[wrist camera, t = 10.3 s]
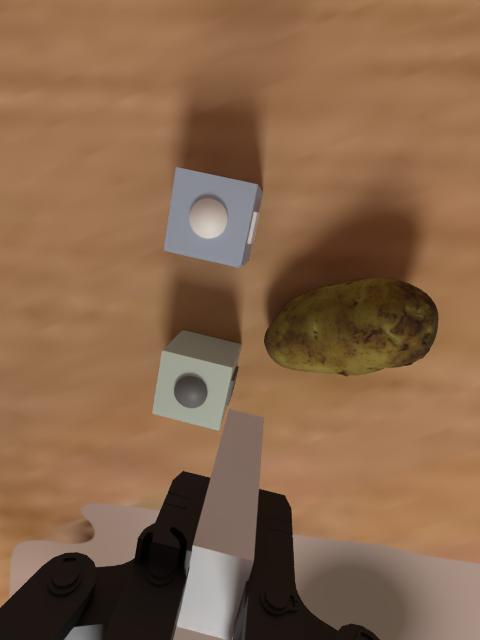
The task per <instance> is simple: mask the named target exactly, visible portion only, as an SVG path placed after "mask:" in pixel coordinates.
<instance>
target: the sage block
mask: <svg viewBox="0 0 480 640" xmlns="http://www.w3.org/2000/svg"><path fill="white" fill-rule="evenodd" d="M241 345H242V344H239V343H235V342H230V341H226V340H222V339H218V338H214V337H210V336H206V335H202V334H198V333H193V332H189V331H185V330H182V331H181V332H180V333H179V334H178V335H177V336H176V337H175V338H174V339H173V340H172V341H171V342H170V343H169V344H168V345H167V346H166V347H165V348H164V349H163V350H162V354H161V361H160V367H159V373H158V380H157V386H156V393H155V399H154V405H153V412H152V414H156V415H160V416H164V417H168V418H172V419H175V420H179V421H183V422H187V423H191V424H195V425H198V426H202V427H206V428H210V429H214V430H218V431H219V429H220V426H221V423H222V420H223V417H224V414H225V411H226V408H227V405H229V402H230V399H231V396H232V393H233V390H234V385H235V381H236V376H237V372H238V368H239V367H237V363H238V359H239V354H240V350H241Z"/></svg>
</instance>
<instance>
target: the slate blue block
mask: <svg viewBox="0 0 480 640" xmlns="http://www.w3.org/2000/svg"><path fill="white" fill-rule="evenodd" d="M262 195H263V191H262V190H261V188H260V187H259V185H258V184H254V183H249V182H244V181H240V180H235V179H230V178H225V177H221V176H216V175H211V174H207V173H202V172H197V171H192V170H188V169H183V168H178V167H176V170H175V177H174V184H173V191H172V198H171V204H170V211H169V218H168V225H167V232H166V239H165V245H164V251H168V252H172V253H176V254H181V255H185V256H190V257H194V258H198V259H203V260H207V261H211V262H216V263H220V264H225V265H229V266H233V267H238V268H241V267H242V266H243V265H244V264H245V263H246V262H248V260H249V256H250V251H251V246H252V243H253V242H254V240H255V236H256V231H257V226H258V222H259V217H260V213H259V209H260V204H261V200H262Z"/></svg>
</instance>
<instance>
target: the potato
mask: <svg viewBox="0 0 480 640" xmlns="http://www.w3.org/2000/svg"><path fill="white" fill-rule="evenodd" d="M437 328H438V311H437V308H436V305H435V303H434V302H433V300H432V299H431V298H430V297H429V296H428V295H427V294H426V293H425V292H423V291H422V290H421V289H419V288H417V287H415V286H413V285H411V284H409V283H406V282H403V281H400V280H396V279H392V278H368V279H360V280H353V281H348V282H344V283H340V284H336V285H329V286H323V287H319V288H316V289H314V290H311V291H309V292H307V293H304V294H302V295H300V296H298V297H297V298H295V299H293V300H292V301H290V302H289V303H288V304H287V305H286V306H285V307H284V308H283V309H282V310H281V311H280V313H279V314H278V315H277V317H276V318H275V319H274V320H273V322H272V323H271V324H270V326H269V327H268V329H267V331H266V334H265V339H264V343H265V347H266V350H267V352H268V354H269V356H270V357H271V358H272V359H273V360H274V361H275V362H276V363H277V364H279V365H280V366H283V367H285V368H288V369H293V370H300V371H308V372H321V373H331V374H342V375H344V376H348V375H363V374H368V373H372V372H376V371H379V370H381V369H384V368H395V367H401V366H407V365H411V364H412V363H414V362H416V361H417V360H419V359H422V358H423V357H424V356H425V355H426V354H427V353H428V352H429V350H430V348H431V346H432V345H433V342H434V340H435V337H436V334H437Z"/></svg>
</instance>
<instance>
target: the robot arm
mask: <svg viewBox="0 0 480 640" xmlns="http://www.w3.org/2000/svg"><path fill="white" fill-rule="evenodd" d="M263 423H264V417H260V416H255V415H251V414H247V413H243V412H239V411H235V410H230V409H229V411H228V415H227V418H226V422H225V426H224V430H223V433H222V437H221V441H220V445H219V448H218V452H217V456H216V460H215V464H214V467H213V471H212V475H211V478H209V477H205V476H201V475H197V474H193V473H189V472H185V471H183V472H182V473H180V474H179V475H178V476H177V477H176V478H175V479H174V480H173V481H172V484H171V486H170V488H169V491H168V494H167V496H166V498H165V501H164V503H163V505H162V508H161V510H160V513H159V515H158V517H157V520H156V522H155V523H154V524H152V525H150V526H149V527H147V528H146V529H144V530H143V532H142V533H141V534H140V536H139V538H138V542H137V548H136V554H135V558H134V559H133V560H131V561H129V562H127V563H124V564H122V565H116V566H107V567H95V564H94V562H93V561H92V560H91V559H90V558H89V557H88V556H87V555H84V554H81V553H77V552H75V553H64V554H62V555H59V556H57V557H54V558H52V559H51V560H50V561H48V562H47V563H46V564H44V565H43V566H42V567H41V568H40V569H39V570H38V571H37V572H36V573H35V574H34V575H33V576H32V577H31V578H30V579H29V580H28V581H27V582H26V583H25V584H24V585H23V586H22V587H21V588H20V589H19V590H18V591H17V592H16V593H15V594H14V595H13V596H12V597H11V598H10V599H9V600H8V601H7V602H6V603H5V604H4V605H3V606H2V607H1V608H0V640H173V637H174V634H175V630H176V626H177V627H181V628H185V629H188V630H192V631H196V632H199V633H203V634H207V635H210V636H214V637H218V638H221V639H225V640H232V637H233V640H380V639H379V638H378V637H377V636H376V635H375V634H374V633H373V632H371V631H369V630H367V629H366V628H364V627H363V626H359V625H355V624H349V625H345V626H342V627H341V628H340V629H339V631H337V630H336V629H334V628H333V627H331V626H329V625H328V624H326V623H324V622H323V621H322V620H320V619H319V618H317V617H316V616H315V615H313V614H312V613H311V612H310V611H309V610H308V609H307V608H306V606H305V605H304V604H303V602H302V600H301V599H300V596H299V595H298V593H297V590H296V584H295V573H294V553H293V537H292V534H293V533H292V513H291V507H290V505H289V503H288V501H287V499H286V497H285V495H281V494H277V493H273V492H269V491H265V490H261V489H259V480H260V466H261V452H262V437H263ZM233 633H234V636H233Z"/></svg>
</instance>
